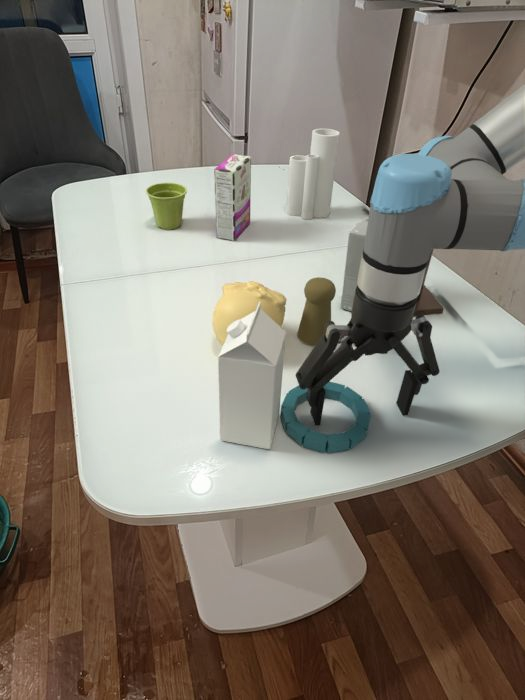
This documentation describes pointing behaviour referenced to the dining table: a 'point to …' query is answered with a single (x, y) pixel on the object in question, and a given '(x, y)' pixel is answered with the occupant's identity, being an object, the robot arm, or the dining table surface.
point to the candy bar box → (232, 196)
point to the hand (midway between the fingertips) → (359, 414)
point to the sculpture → (245, 305)
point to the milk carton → (251, 380)
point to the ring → (322, 440)
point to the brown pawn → (316, 309)
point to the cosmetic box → (353, 263)
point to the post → (427, 298)
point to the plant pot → (167, 204)
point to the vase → (313, 177)
